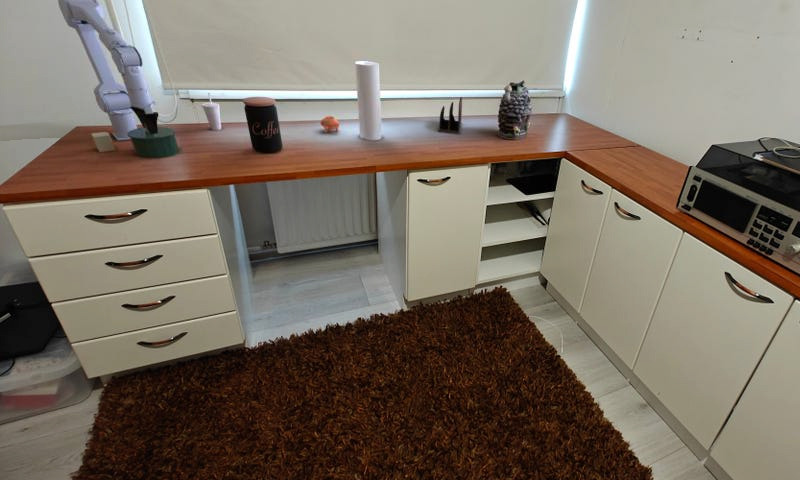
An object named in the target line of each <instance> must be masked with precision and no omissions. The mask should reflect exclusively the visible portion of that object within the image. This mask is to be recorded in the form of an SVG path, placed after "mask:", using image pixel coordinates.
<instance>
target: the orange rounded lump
mask: <svg viewBox="0 0 800 480" xmlns="http://www.w3.org/2000/svg"><path fill="white" fill-rule="evenodd" d="M320 125H321V126H322V127H323V128H324V131H325V133H328V131H332V130H335V131H336V132H338V131H339V126H340V122H339V121H338V120H337V119H336V118H335V117H334V116H331V115H329V116H325V117H324V118H322V119H321V121H320Z"/></svg>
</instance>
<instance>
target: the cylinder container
mask: <svg viewBox="0 0 800 480" xmlns="http://www.w3.org/2000/svg"><path fill="white" fill-rule="evenodd" d="M354 66H355V80H356V82H355V83H356V97H357V99H356V100H357V113H358V115H357V116H358V129H359V130H358V131H359V138H360V139H362V140H365V141H378V140H381V139H382V112H381V110H382V109H381V83H380V81H381V80H380V77H381V76H380V63H378V62H374V61H368V60H365V61H364V60H360V61H355V63H354Z"/></svg>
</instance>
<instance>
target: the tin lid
mask: <svg viewBox="0 0 800 480" xmlns="http://www.w3.org/2000/svg"><path fill="white" fill-rule="evenodd" d="M144 124H145V123H144ZM145 127H146V125H145ZM137 128H138V129H134V130H131V131H129V132H128V133H127V135H128V136H129V137H130V138H134V139H141V140H152V139H162V138H166V137H170V136H172V135H175V134H176V131H175V129H173V128H170V127H164V126H157V128H158V134H150V133H149V131H148V129H147V127H146V128H144V127H137Z"/></svg>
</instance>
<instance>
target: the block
mask: <svg viewBox="0 0 800 480" xmlns="http://www.w3.org/2000/svg"><path fill="white" fill-rule="evenodd" d="M91 137H92V140H93V143H94V144H95V145H94V146H95V147H96V149H97V151H98V152H99V153H105V152H112V151H116V148H115V145H114V142H113V139H112V138H111V135H110V133H108V132H107V131H101V132H93V133H91Z"/></svg>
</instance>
